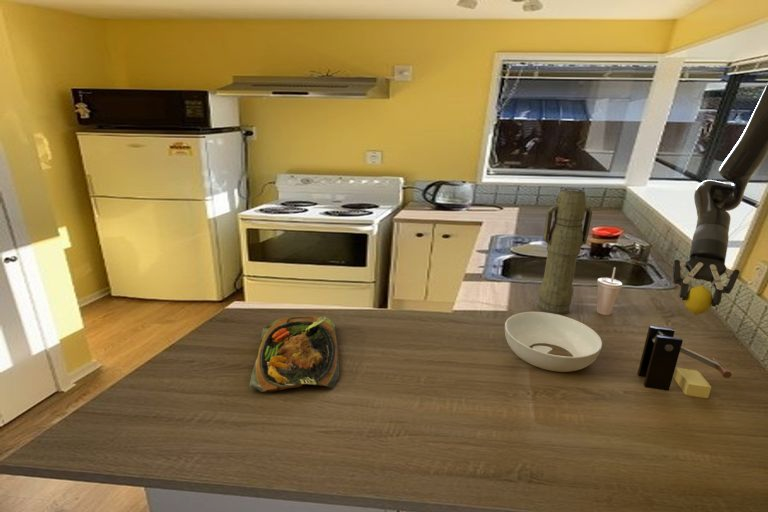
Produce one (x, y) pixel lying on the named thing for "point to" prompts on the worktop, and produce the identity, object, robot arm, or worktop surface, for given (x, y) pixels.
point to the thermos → (563, 249)
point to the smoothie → (607, 294)
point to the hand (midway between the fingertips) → (699, 301)
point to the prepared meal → (296, 354)
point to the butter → (692, 382)
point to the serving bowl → (552, 340)
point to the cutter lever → (702, 358)
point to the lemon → (698, 300)
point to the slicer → (659, 358)
